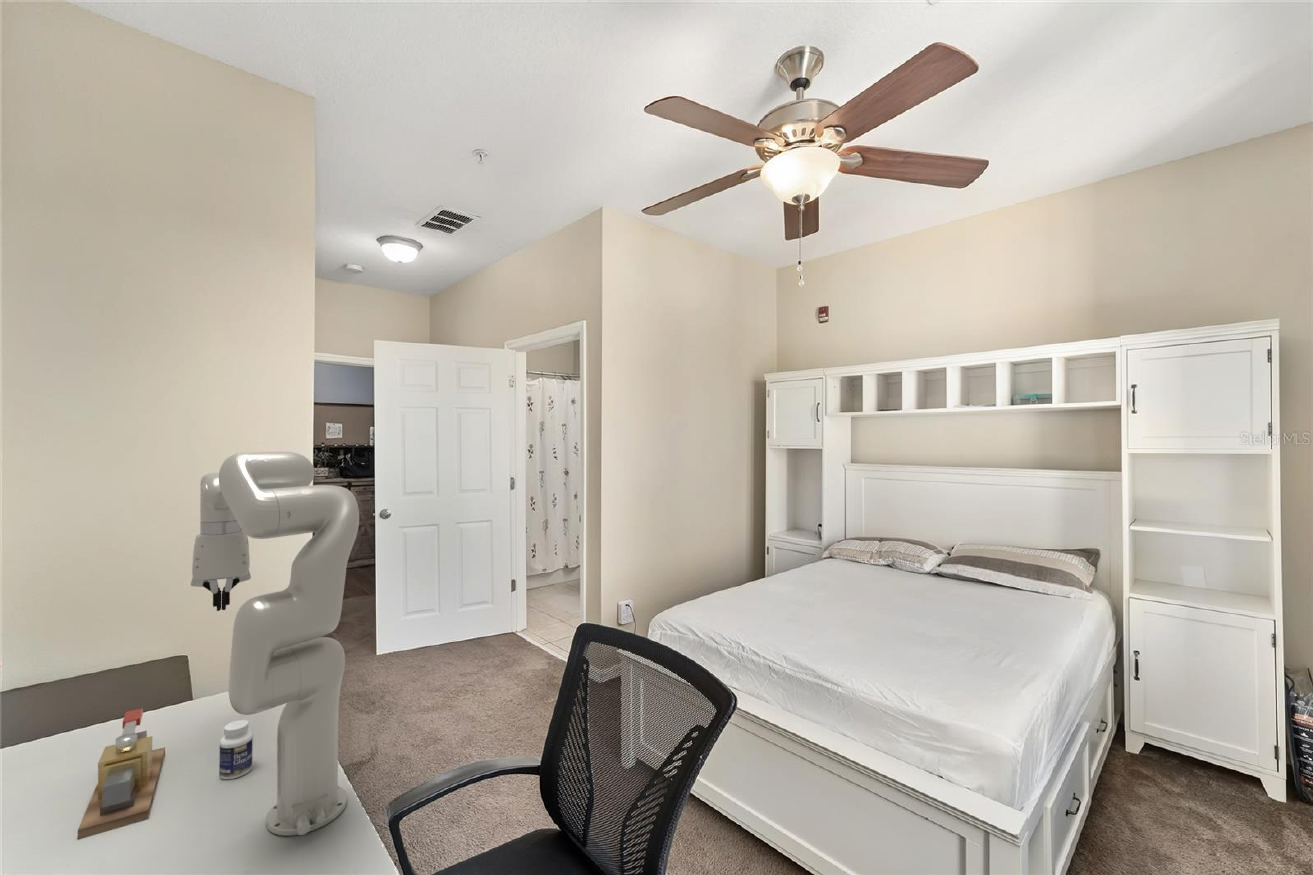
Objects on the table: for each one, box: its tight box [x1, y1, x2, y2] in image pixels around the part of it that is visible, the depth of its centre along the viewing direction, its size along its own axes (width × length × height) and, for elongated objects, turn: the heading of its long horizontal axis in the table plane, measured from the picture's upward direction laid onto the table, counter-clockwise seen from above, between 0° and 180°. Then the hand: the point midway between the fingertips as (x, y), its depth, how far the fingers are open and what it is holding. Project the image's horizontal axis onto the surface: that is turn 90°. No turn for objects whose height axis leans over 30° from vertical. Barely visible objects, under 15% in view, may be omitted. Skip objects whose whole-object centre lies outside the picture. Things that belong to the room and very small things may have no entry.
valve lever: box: [115, 707, 144, 752], centre depth 113 cm, size 14×3×2 cm, turn 38°
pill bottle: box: [218, 719, 254, 780], centre depth 115 cm, size 5×5×10 cm
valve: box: [97, 730, 153, 816], centre depth 108 cm, size 20×7×7 cm, turn 36°
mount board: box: [77, 746, 166, 840], centre depth 108 cm, size 24×9×2 cm, turn 36°
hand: (221, 608), depth 127 cm, fingers closed
